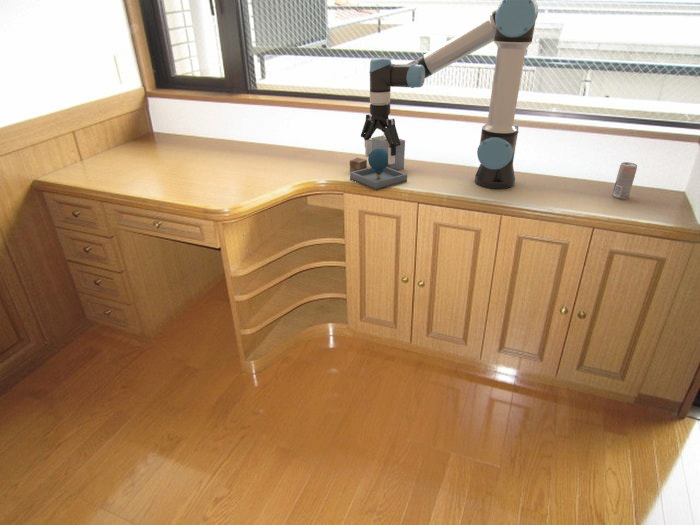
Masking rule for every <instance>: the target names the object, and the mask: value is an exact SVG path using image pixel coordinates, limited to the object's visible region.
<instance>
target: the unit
mask: <svg viewBox="0 0 700 525" xmlns="http://www.w3.org/2000/svg"><path fill="white" fill-rule="evenodd" d="M371 139H372V151H373V150H374V149H378V148H381V149H384V150H385V151H387V153H388V147H389V146H390V145H389V143H388V141H387V139H386V137H385V134H384V133H383V135H379V136H374V137H373V136H372V137H371ZM399 140H400V146H396V155H395V163H394V164H390V165H389V164H388V166H387V167H388V168H391V169H394V170H397V171H399V170H403V169H405V151H406V140H405V139H401V138H399ZM396 143H397V142H396ZM392 144H393V143H392Z"/></svg>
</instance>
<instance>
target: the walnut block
mask: <svg viewBox="0 0 700 525" xmlns="http://www.w3.org/2000/svg"><path fill="white" fill-rule="evenodd" d="M367 165H368V159H364V158H360V157H356V158H352V159H350V160H349V173H350V172H353V171H357V170H361V169H366V168H368V166H367Z"/></svg>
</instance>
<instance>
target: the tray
mask: <svg viewBox="0 0 700 525" xmlns="http://www.w3.org/2000/svg"><path fill="white" fill-rule="evenodd" d="M349 180H350V181H352V180H353V181H352V182H355V181H356V182H355V183H357V182H358V184H360V185H362V186H364V187H366V188H369V189H372V190H374V191H379V190H382V189H386V188H389V187H392V186H393V187H394V186H397V185H400V184H404V183H407V182H408V174H407V173H405V172H401V171H399V170H394V169H391V168H388V167H386V168H385V169H384V170H383V171H382V173H381V178H380V179H377V178H376V172H375V170H374V169H373V168H372V167H371V166H370V167H367V168H366V169H361V170H357V171H353V172H350V171H349Z"/></svg>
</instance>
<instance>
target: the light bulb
mask: <svg viewBox="0 0 700 525" xmlns="http://www.w3.org/2000/svg"><path fill="white" fill-rule="evenodd" d="M367 163H368V165H369V166H370V167H372V168H373V169H374V170H375V172H376V178H377V179H380V178H381V173H382V171H383V170H384V169H385V168H386V167H387V166H388V153H387V151H385V150H384V149H381V148H378V149H374V150H373V151H372V152H371V153H370V154H369V157H367Z"/></svg>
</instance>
